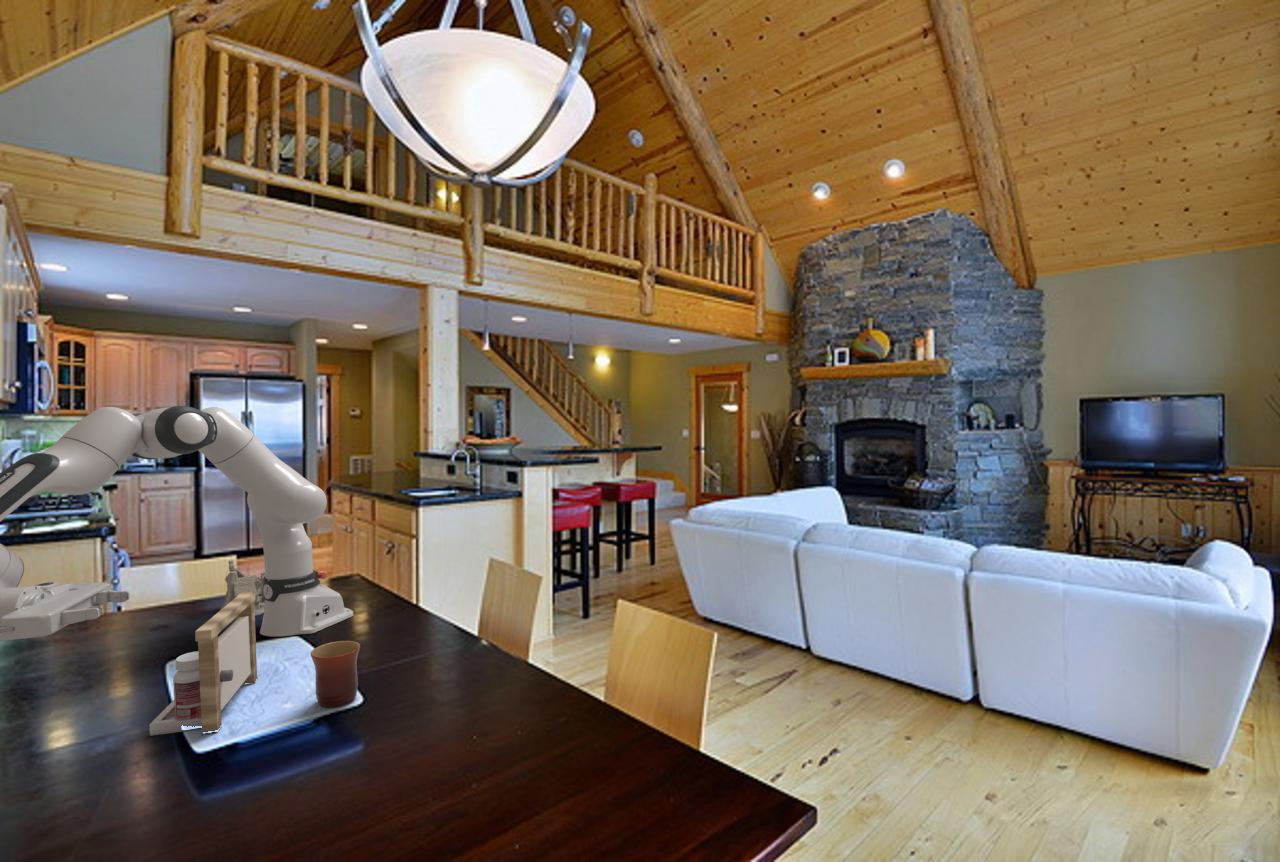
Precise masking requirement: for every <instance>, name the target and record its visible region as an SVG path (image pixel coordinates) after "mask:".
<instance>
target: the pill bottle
mask: <svg viewBox="0 0 1280 862" xmlns="http://www.w3.org/2000/svg"><path fill="white" fill-rule="evenodd" d="M175 670H177V671H176V672H175V674H174V675H173V680H172V681H173V697H174V698H173V700H174V703H175V719H176V718H184V717H191V716H199V715H201V699H200V676H199V653H198V651H191V652H186V653H184V654H181V655H179V656H178V657H176V659H175Z"/></svg>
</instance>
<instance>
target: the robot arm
mask: <svg viewBox="0 0 1280 862" xmlns="http://www.w3.org/2000/svg"><path fill="white" fill-rule="evenodd" d="M197 451H198V452H199V453H201V454H203V455H204V456H205V458H206V459H208V461H209V462H211V464H212V465H213V466H214V467H216V468H217V469H218V470H219V472H221V473H222V475H224V476H225V477H226V478H228V480H229V481H230V482H231V483H232V484H233V485H235V486H236V487H238V488H240V489H242V490H243V491H244V492H247V493H248V494H247V498H246V501H247V506H248V509H249V510H250V511H251V512H252V514H253V516H254V518H255V521H256V525H257V528H258V532H259V535H260V539H261V542H262V548H263V560H264V561H263V562H264V572H265V577H264V578H263V590H264V599H265V608H264V613H263V616H262V620H261V621H262V623H261V627H260V630H259V634H260V635H262V636H266V637H287V636H295V635H306V634H307V635H308V634H309V635H311V634H314V633H317V632H318V631H321V630H324V629H326V628H328V627H330V626H333V625H336V624H337V623H340V622H342V621H344V620H347V619H349V618H352V617H353V616H354V611H353V610H352V609H350V608H347V607H345V605H344V604H345V603H344V600H343V597H342V595H341V594H340V593H339V592H338V591H335V590H333V589H332V588H330V587H328V586H326V585H324V584H322V583H321V582H320V579H322V580H326V579H327V578H328V575H329V574H328V572H327V571H325V570H324V571H323V570H320V571H317V570H314V566H313V562H314V561H313V542H312V541H311V538H310V537H309V536H308V534H307V533H306V530H305V527H304V525H303V524H307V523H312V522H315V521H317V520H318V519H320V517H322V516H323V514H324V513H325V511H326V509H327V504H328V499H327V496H326V493H325V492H324V491H323V489H322V488H320V487H319V486H317V485H315V484H313V483H312V482H310V481H309V480H307V479H306V478H305V477H303V475H302V474H300V473H299V472H298V471H297V470H295V469H293V467H291V466H290V465H288V464H286V462H284V461H283V460H281V459H280V458H279V457H277V456H276V455H275V454H274V453H273V452H272V451H271V450H270V449H269V448H268V447H267V446H266V445H265V444H264V443H263V442H262V441H261V440H260V439H259V438H258V437H257V436H256V435H255V434H254V432H252V430H250V429H249V428H248V427H247V426H246V425H245V424H244V423H243V422H241V421H240V420H239V419H238V418H236V417H235V416H234V415H232V414H231V413H230V412H228V411H226V410H225V409H224V408H222V407H217V406H210V407H207V408H206V407H205V408H204V409H199V408H195V407H192V406H185V405H174V406H167V407H162V408H155V409H151V410H150V411H147V412H145V413H140V414H135V415H134V414H133V413H131V412H129V411H128V410H125V409H123V408H120V407H115V406H103V407H99V408H97V409H95V410H94V411H92V412H91V413H89V414H87V415H86V416H84V417H83V418H82V419H81V420H79V421H77V423H76V424H74V425H73V426H72V427H71V428H69V429H68V430H67V431H66V432H65V433H64V434H63V435H62V436H61V437H59V439H58V440H57V441H55V443H54V444H52V445H51V446H50V447H48V448H47V449H45V450H43V451H42V452H34V453H32V454H28V455H26V456H24V457H22V458H21V459H19V460H17V461H15V462H14V463H12V464H11V465H9V466H8V467H7V468H5V469H4V470H2V472H0V522H2V521H3V520H4V519H5V518H6V517H8V516H9V515H10V514H11V513H12V512H15V510H16V509H17V508H19V507H20V506H21V505H22V504H23V503H24V502H25V501H26V502H27V500H28V499H29V498H32V497H33V496H34V495H37V494H40V493H43V492H50V493H52V492H53V493H57V494H61V495H66V496H67V495H68V496H77V495H86V494H89V493H93V492H95V491H97V490H98V489H100V488H101V487H102V486H104V485H105V484H106V483H107V482H109V480H110V479H111V478H112V477H113V476H114V474H115V473H117V471H118V470H119V469H120V468H121V466H123V464H124V463H125V462H126V461H127V459H128V458H130V457H131V456H133V457H135V458H138V459H143V460H157V459H171V458H175V457H178V456H182V455H187V454H192V453H194V452H197ZM24 573H25V564H24V561H23V559H21V557H19V555H17V554H16V553H15V552H13V551H12V550H11V549H9V548H8V547H7V546H5V545H4V544H2V543H0V642H1V641H2V642H3V641H12V640H14V641H15V640H21V639H22V640H23V639H32V638H41V637H46V636H50V635H53V634H54V633H57V632H58V631H60V630H62V629H63V628H65V627H67V626H68V625H72V624H76V623H80V622H83V621H88V620H97V619H99V618H100V617H102V616H103V614H104V613H103V607H102V606H104V605H105V604H108V603H114V604H118V603H125V602H127V601H128V600H130V598H131V597H130V591H129V590H119V591H118V590H114V589H112V588H111V587H112V585H111V584H110V583H108V582H103V581H100V582H99V581H97V582H96V581H94V582H71V583H70V582H69V583H64V584H63V583H62V584H60V582H59V581H47V582H43V583H42V582H41V583H39V584H35V585H26V586H19V585H20V582H21V580H22V578H23V575H24ZM18 586H19V587H18Z"/></svg>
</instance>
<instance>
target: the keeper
mask: <svg viewBox="0 0 1280 862" xmlns="http://www.w3.org/2000/svg"><path fill="white" fill-rule="evenodd" d="M182 725H183V726H187V727H188V726H192V727H193V726H194V727H195V726H202V722H201V715H199V716H191V717H184V718H176V719H175V703H174V699H173V700H172V701H171V702H170V703H169V704H168V705H167V706H166V707H165V708H164V709H163V710H162V711H161V712H160V713H159V715H157V716H156V717H155V718H154V720H152V722H150V724H149V725H148V726H149V728H148V729H149V736H150V737H151V736H158V735H159V736H160V735H167V734H175V733H181V732H182V731H181V726H182Z"/></svg>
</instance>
